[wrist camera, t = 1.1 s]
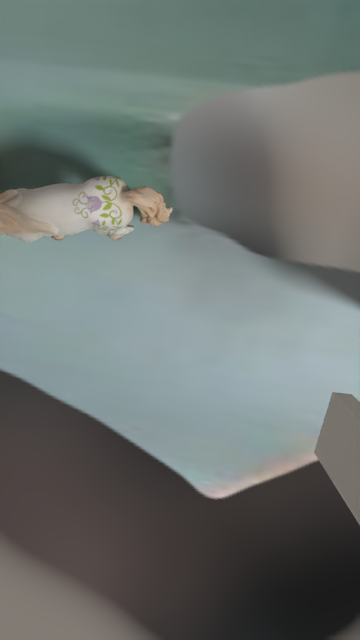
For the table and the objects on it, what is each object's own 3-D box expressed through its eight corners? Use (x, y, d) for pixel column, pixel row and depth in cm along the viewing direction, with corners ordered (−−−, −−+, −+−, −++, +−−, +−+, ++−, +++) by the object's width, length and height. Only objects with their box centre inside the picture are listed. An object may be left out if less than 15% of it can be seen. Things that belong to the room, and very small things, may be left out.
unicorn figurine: (-28, 226, 33) (-154, 223, 20) (147, 147, 32) (133, 90, 19) (8, 290, 35) (-85, 325, 22) (175, 218, 33) (180, 211, 21)
